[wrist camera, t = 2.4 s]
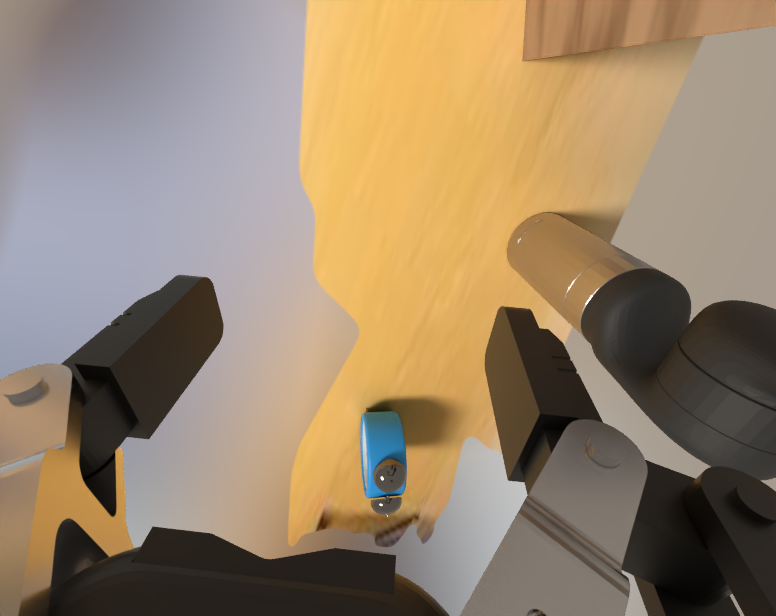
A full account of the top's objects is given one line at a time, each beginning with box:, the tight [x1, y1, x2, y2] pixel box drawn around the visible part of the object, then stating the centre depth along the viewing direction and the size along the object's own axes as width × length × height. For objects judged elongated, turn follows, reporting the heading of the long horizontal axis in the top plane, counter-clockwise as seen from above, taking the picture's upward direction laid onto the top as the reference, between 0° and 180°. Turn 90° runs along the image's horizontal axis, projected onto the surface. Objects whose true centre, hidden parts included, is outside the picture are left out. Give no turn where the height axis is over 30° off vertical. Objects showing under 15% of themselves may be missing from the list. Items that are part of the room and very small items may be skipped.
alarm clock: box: [361, 408, 407, 517], centre depth 58 cm, size 13×6×15 cm, turn 175°
